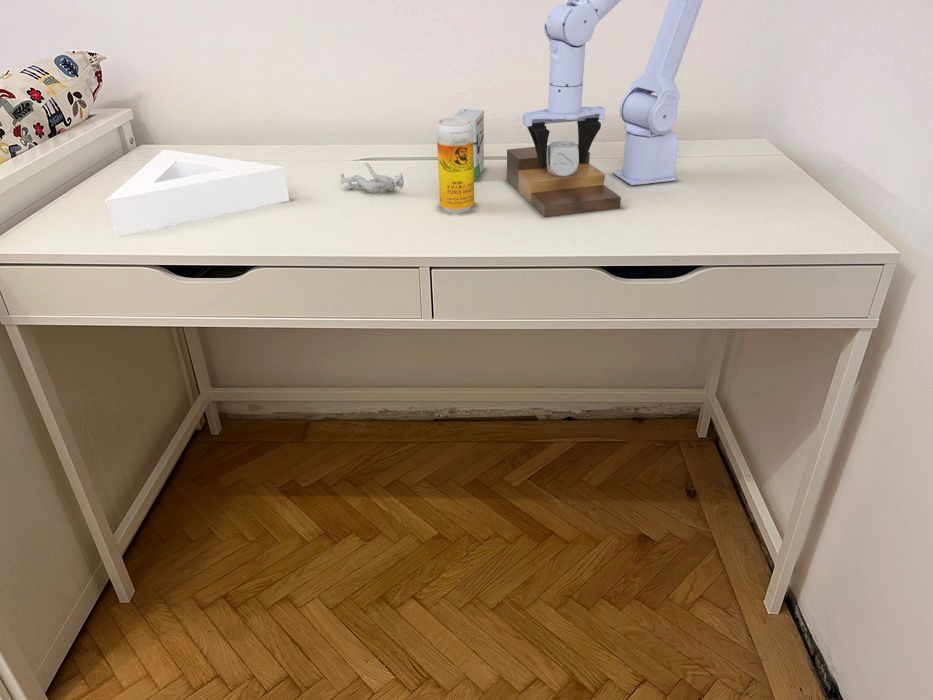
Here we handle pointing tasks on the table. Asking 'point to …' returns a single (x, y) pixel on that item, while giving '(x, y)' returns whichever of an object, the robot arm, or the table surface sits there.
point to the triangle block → (192, 191)
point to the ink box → (476, 136)
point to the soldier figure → (373, 182)
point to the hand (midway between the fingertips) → (561, 163)
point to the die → (562, 158)
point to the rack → (559, 185)
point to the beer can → (455, 164)
